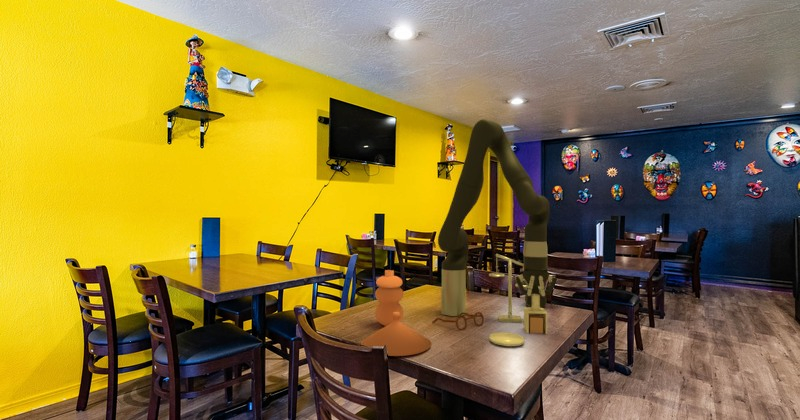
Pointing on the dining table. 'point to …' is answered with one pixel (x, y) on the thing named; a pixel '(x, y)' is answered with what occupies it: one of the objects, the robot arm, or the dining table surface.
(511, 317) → the balance
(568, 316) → the dining table surface
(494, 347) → the dining table surface
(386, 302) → the ceramic vessels
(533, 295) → the hood
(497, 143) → the robot arm
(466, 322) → the glasses
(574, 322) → the dining table surface
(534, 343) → the dining table surface
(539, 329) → the block
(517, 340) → the dish
